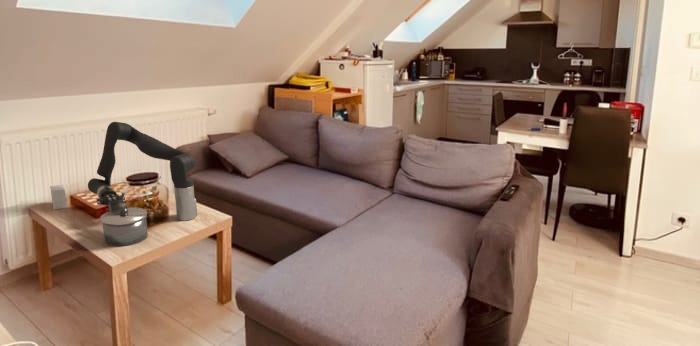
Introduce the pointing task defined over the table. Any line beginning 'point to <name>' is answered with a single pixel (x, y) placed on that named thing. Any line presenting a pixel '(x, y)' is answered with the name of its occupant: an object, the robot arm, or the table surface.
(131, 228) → the pot
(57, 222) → the table surface
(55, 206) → the skincare box
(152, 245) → the table surface
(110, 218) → the lid
